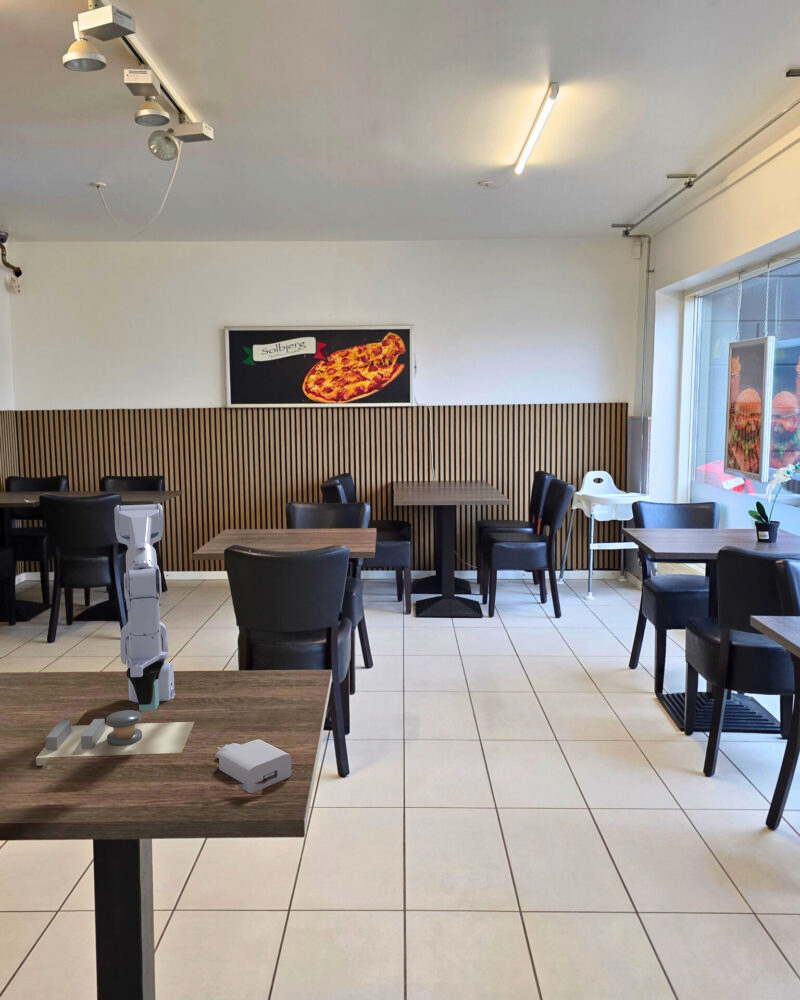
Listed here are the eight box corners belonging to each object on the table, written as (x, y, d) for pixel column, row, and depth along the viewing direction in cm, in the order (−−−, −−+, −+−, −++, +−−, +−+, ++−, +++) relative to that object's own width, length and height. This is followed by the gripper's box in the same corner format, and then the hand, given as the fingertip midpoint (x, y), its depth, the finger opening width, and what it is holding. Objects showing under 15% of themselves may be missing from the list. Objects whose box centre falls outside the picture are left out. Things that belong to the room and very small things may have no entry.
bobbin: (145, 731, 154) (144, 709, 153) (137, 745, 148) (136, 723, 147) (112, 732, 153) (111, 710, 153) (102, 746, 147) (101, 724, 146)
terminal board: (194, 728, 159) (194, 721, 158) (181, 760, 145) (181, 752, 145) (62, 733, 156) (62, 726, 156) (36, 765, 143) (35, 757, 142)
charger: (242, 751, 149) (291, 777, 139) (200, 767, 143) (248, 795, 132) (242, 727, 149) (291, 752, 138) (199, 742, 142) (247, 769, 132)
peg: (159, 703, 151) (158, 679, 150) (155, 710, 148) (154, 684, 147) (143, 704, 151) (142, 679, 150) (139, 710, 148) (138, 685, 147)
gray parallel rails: (105, 730, 154) (104, 718, 154) (92, 748, 146) (92, 735, 146) (61, 732, 153) (60, 720, 153) (46, 750, 145) (45, 737, 145)
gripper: (157, 642, 141) (160, 714, 142) (174, 620, 155) (176, 685, 157) (117, 643, 140) (120, 716, 142) (137, 620, 154) (140, 686, 156)
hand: (147, 700), depth 149 cm, fingers closed on peg, 3 cm apart
